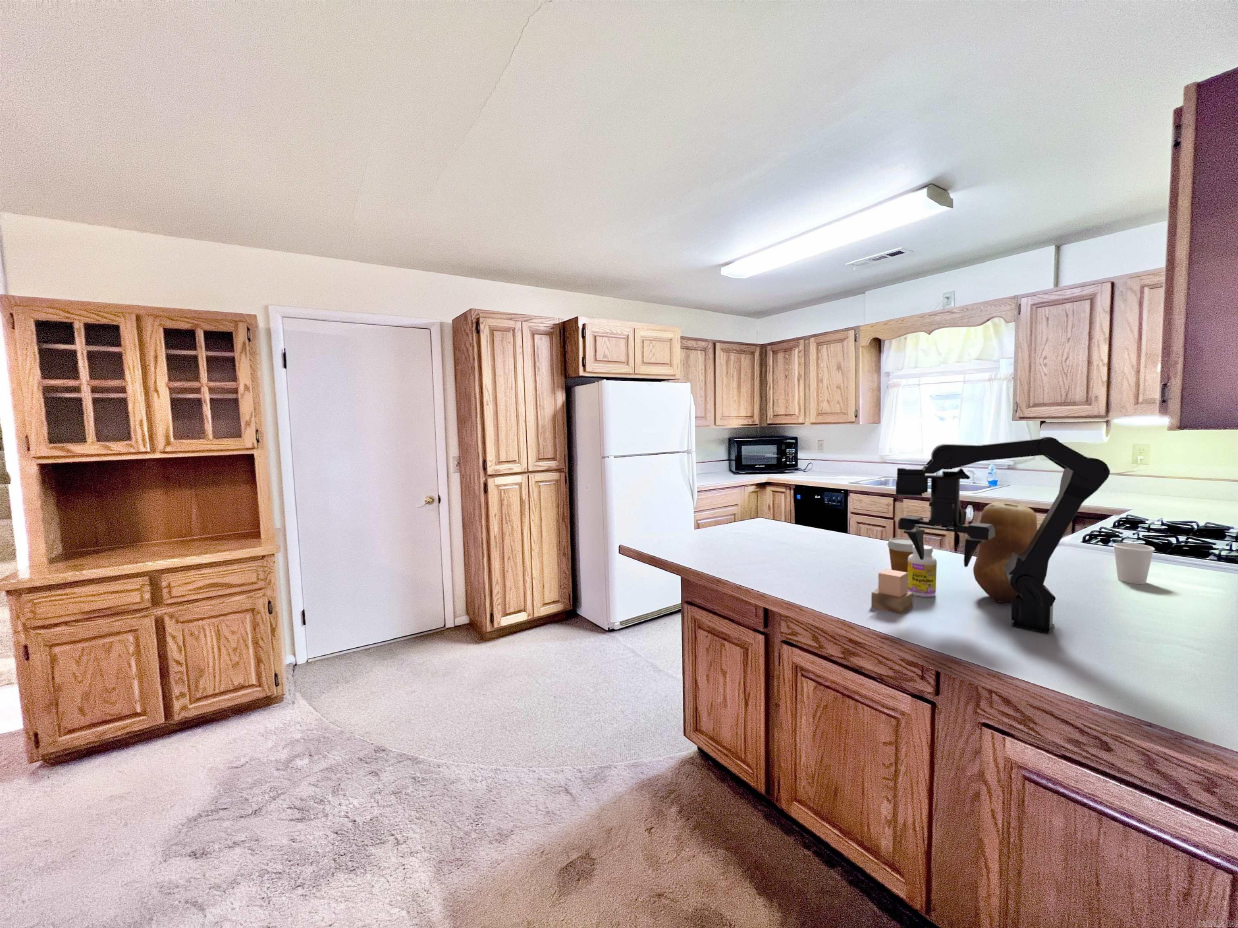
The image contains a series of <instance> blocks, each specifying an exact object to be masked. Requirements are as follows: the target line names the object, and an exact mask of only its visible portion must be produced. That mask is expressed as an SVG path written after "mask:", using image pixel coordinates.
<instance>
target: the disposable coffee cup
mask: <svg viewBox="0 0 1238 928" xmlns="http://www.w3.org/2000/svg"><path fill="white" fill-rule="evenodd" d="M886 545H887V548H888V552H889V559H890V567H891V568H890V570H895V571H901V572H907V573H908V557H909V556H910V555H911V554H913V550H912V546H913V545H914V544H913V543H912V541H911V539H910V538H908V537H907V538H906V537H894V538H893V537H892V538H889V539H888V542H887V543H886Z"/></svg>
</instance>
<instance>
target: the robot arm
mask: <svg viewBox="0 0 1238 928" xmlns="http://www.w3.org/2000/svg"><path fill="white" fill-rule="evenodd" d="M1036 456H1037V457H1039V456H1044V457H1045V458H1046V459H1047V460H1049V461H1050V462H1052V463H1053V464H1055V465H1057V466H1058V467H1060V468H1061V469H1062V470H1063V472H1062V475H1061V477H1060V483H1059V484H1060V485H1059V489H1058V494H1057V495H1056V497H1055V499H1054V500H1053V502H1052V504H1051V505H1050V508H1049V510H1048V511H1047V513H1046V515H1045V517H1044V518H1043V520H1042V521H1041V523H1040V525H1039V527H1038V528H1037V532H1036V534H1035V535H1034V537H1033V539H1032V541H1031V542H1030V544H1029V546H1028V548H1027V549H1026V550H1025V551H1024V552H1023V553H1021V554H1020V555H1017V554H1016V553H1014V552H1012V554H1011V557H1010V560H1009V562H1008V563H1007V564H1006V565H1005V566H1004V568H1005V569H1006V571H1005V577H1006V579H1007V581H1008V583H1009V584H1010V586H1011V587H1012V588H1013V589H1014V590H1015V591H1016V592H1017V593H1019V594H1018V595H1017V596H1016V597H1015V601H1013V602H1012V603H1011V604H1010V605H1011V609H1010V610H1011V611H1010V620H1011V626H1012V627H1016V628H1021V629H1025V630H1029V631H1034V632H1038V633H1044V634H1048V635H1049V634H1050V633H1051V632H1052V631H1053V629H1054V628H1055V623H1054V621H1053V619H1054V603H1055V601H1056V596H1055V595H1054V594H1053V593H1052V591H1050V590H1049V588H1048V587H1047V586H1046V585H1045V584H1044V583H1045V581H1046V577H1047V573H1048V567H1049V561H1050V559H1051V557H1052V556H1053V553H1054V552H1055V550H1056V549H1057V546H1059V543H1060V542H1061V540H1062V538H1063V537H1064V535H1065V533H1066V532H1067V530H1068V528H1069V527H1070V526H1071V523H1072V521H1073V520H1074V518H1075V517H1076V515H1077V513H1078V512H1079V510H1080V508H1081V506H1082V505H1083V503H1084V502H1085V501H1086V500H1087V499H1089V498H1090V497H1091V496H1092V495H1093V494H1095V493H1096V492H1097V491H1098V490H1099V489H1100V488H1101V487H1102V485H1103V484H1104V483H1105V482H1106V481H1107V480H1108V478H1109V477H1110V474H1111V469H1110V468H1109V466H1108V464H1107V463H1106V462H1105V461H1104V460H1101V459H1099V458H1094V457H1089V456H1085V455H1084V454H1082V453H1080V452H1079V451H1076V450H1074V449H1073V448H1071V447H1069V446H1067V445H1065V444H1064V443H1062V442H1060V441H1059V440H1058V439H1057V438H1054V437H1051V436H1040V437H1038V438H1030V439H1029V438H1028V439H1021V440H1013V441H1004V442H994V443H986V444H985V443H984V444H961V443H960V444H957V443H942V444H938V445H936V446H935V447H934V448H933V449H932V451H931V455H930V459H929V461H927V463H925V464H923V465H924V466H923V467H922V468H906V467H897V470H896V480H895V496H898V497H901V496H902V497H923V494H927V493H928V492H929V479H930V501H929V502H928V507H930V511H929V512H930V515H929V519H928V520H924V518H923V516H917V515H906V516H903V517H900V518H899V519H898V520H897V529H898V530H903V534H906V535H908V537H909V539H911V541H912V543H913V544H914V547H915V549H916V551H917V553H918V555H919V557H920V559H921V560H923V559H924V545H925V544H924V543H925V542H924V534H925V531H926V530H925V529H927V530H934V531H942V532H951V533H959V534H960V533H961V534H966V535H967V536H968V538H965V540H964V541H965V542H964V552H963V553H964V554H963V565H964V568H967V567H968V566H969V564H970V562H971V559H972V558H973V555H974V553H975V551H976V549H977V547H979V543H982V542H984V541H986V540H989V539H991V538H993V537H995V528H994V526H993V525H992V524H983V523H980V522H972V523H970V524H968V525H966V520H967V514H968V512H967V511H966V510H964V509H963V508H962V504H961V500H960V489H961V488H960V487H961V480H970V479H971V476H970V475H968V474H967V473H966V472H965V470H964V469H963V468H962V467H965V466H968V465H973V464H975V463H979V462H980V463H981V462H987V461H996V460H1006V459H1007V460H1009V459H1018V458H1028V457H1036ZM957 468H959V469H958V470H956V471H952V469H957ZM946 470H947V471H946ZM949 470H951V471H949ZM940 471H941V474H936V473H938V472H940ZM935 474H936V475H935Z"/></svg>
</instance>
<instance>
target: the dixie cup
mask: <svg viewBox="0 0 1238 928" xmlns="http://www.w3.org/2000/svg"><path fill="white" fill-rule="evenodd" d="M1112 546H1113V550H1114V560H1115V567H1116V575H1117V580H1118V581H1120V582H1122V583H1123V582H1124V583H1128V584H1136V585H1145V584H1146V583H1147V579H1148V576H1149V571H1150V567H1151V562H1152V558H1153V553H1154V551H1155V549H1156V548H1154V547H1153V546H1150V545H1145V544H1139V543H1132V542H1131V543H1129V542H1115V543H1113V544H1112Z"/></svg>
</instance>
